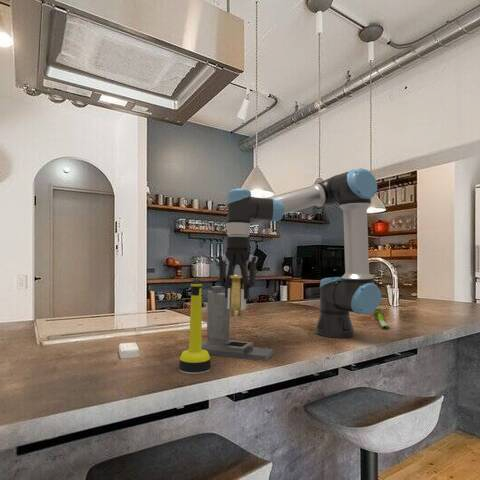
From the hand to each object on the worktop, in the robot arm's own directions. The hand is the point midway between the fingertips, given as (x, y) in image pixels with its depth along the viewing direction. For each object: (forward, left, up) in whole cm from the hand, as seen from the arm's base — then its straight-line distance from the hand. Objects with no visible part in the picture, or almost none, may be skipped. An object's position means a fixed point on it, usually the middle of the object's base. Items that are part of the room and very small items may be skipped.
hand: (236, 308), depth 116 cm
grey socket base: (0, 0, -14) cm, 14 cm away
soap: (+31, +14, -15) cm, 37 cm away
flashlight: (+5, +19, -15) cm, 24 cm away
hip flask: (+14, -15, -15) cm, 25 cm away
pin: (0, 0, -2) cm, 2 cm away
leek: (-45, -78, -15) cm, 91 cm away
